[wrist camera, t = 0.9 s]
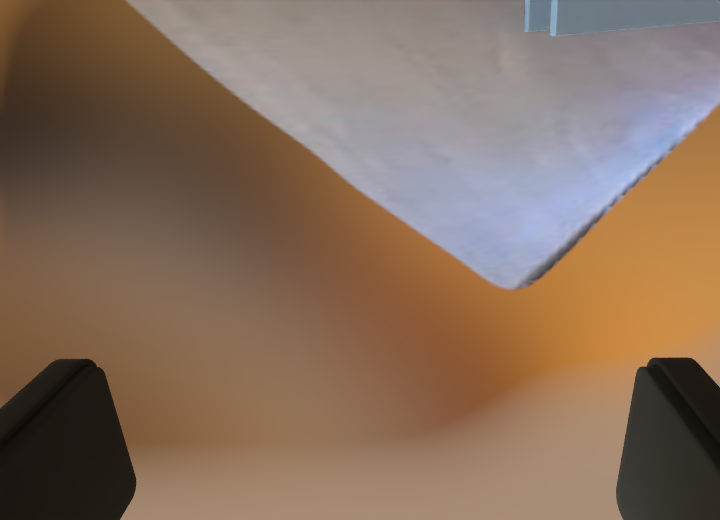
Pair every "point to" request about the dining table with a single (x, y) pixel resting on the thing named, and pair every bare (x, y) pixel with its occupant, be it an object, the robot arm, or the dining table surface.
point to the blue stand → (615, 14)
